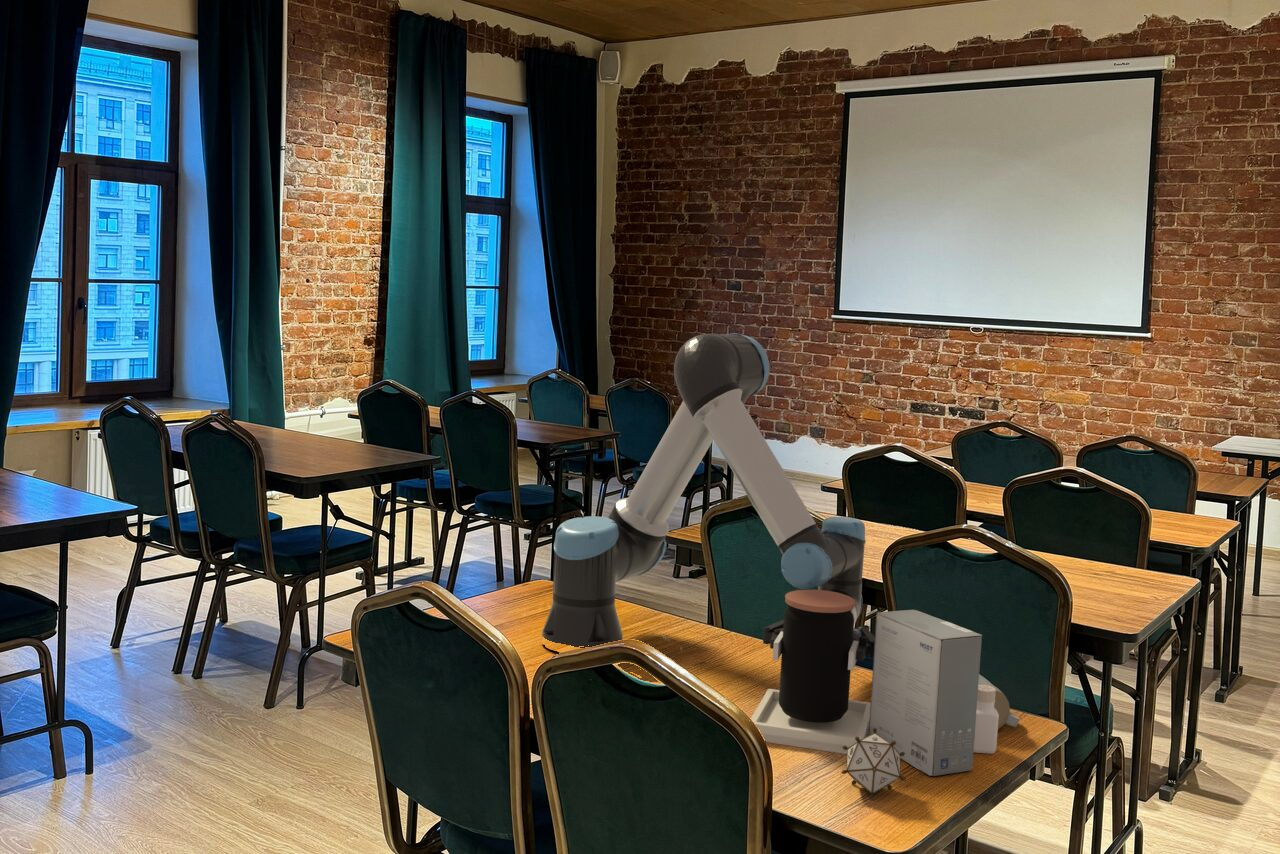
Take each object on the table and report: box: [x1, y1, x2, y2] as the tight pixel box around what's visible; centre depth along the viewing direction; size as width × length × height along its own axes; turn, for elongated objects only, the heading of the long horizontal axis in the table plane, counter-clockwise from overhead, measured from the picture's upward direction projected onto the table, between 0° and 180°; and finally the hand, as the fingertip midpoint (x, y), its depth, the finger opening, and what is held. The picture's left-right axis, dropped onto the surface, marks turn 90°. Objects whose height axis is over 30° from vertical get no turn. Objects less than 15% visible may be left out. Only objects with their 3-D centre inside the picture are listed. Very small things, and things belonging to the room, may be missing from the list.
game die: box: [840, 727, 907, 801], centre depth 157 cm, size 9×8×10 cm
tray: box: [750, 688, 871, 755], centre depth 180 cm, size 17×17×2 cm
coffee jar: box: [778, 589, 855, 723], centre depth 179 cm, size 11×11×18 cm
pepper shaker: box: [973, 685, 999, 755], centre depth 174 cm, size 4×4×10 cm
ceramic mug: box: [978, 673, 1021, 730], centre depth 184 cm, size 11×8×8 cm
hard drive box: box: [868, 609, 983, 777], centre depth 170 cm, size 16×8×20 cm, turn 25°
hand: (812, 656), depth 175 cm, fingers closed on coffee jar, 11 cm apart
